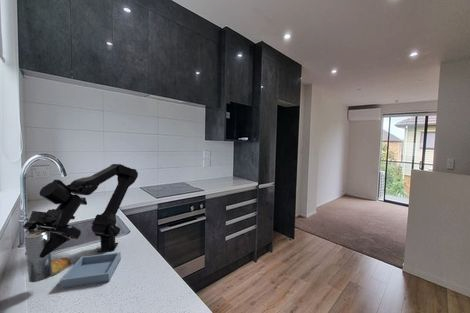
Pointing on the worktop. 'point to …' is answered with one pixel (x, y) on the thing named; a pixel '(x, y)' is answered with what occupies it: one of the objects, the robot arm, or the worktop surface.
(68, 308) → the worktop surface
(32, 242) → the canister
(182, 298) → the worktop surface
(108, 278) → the bin
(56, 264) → the pastry
